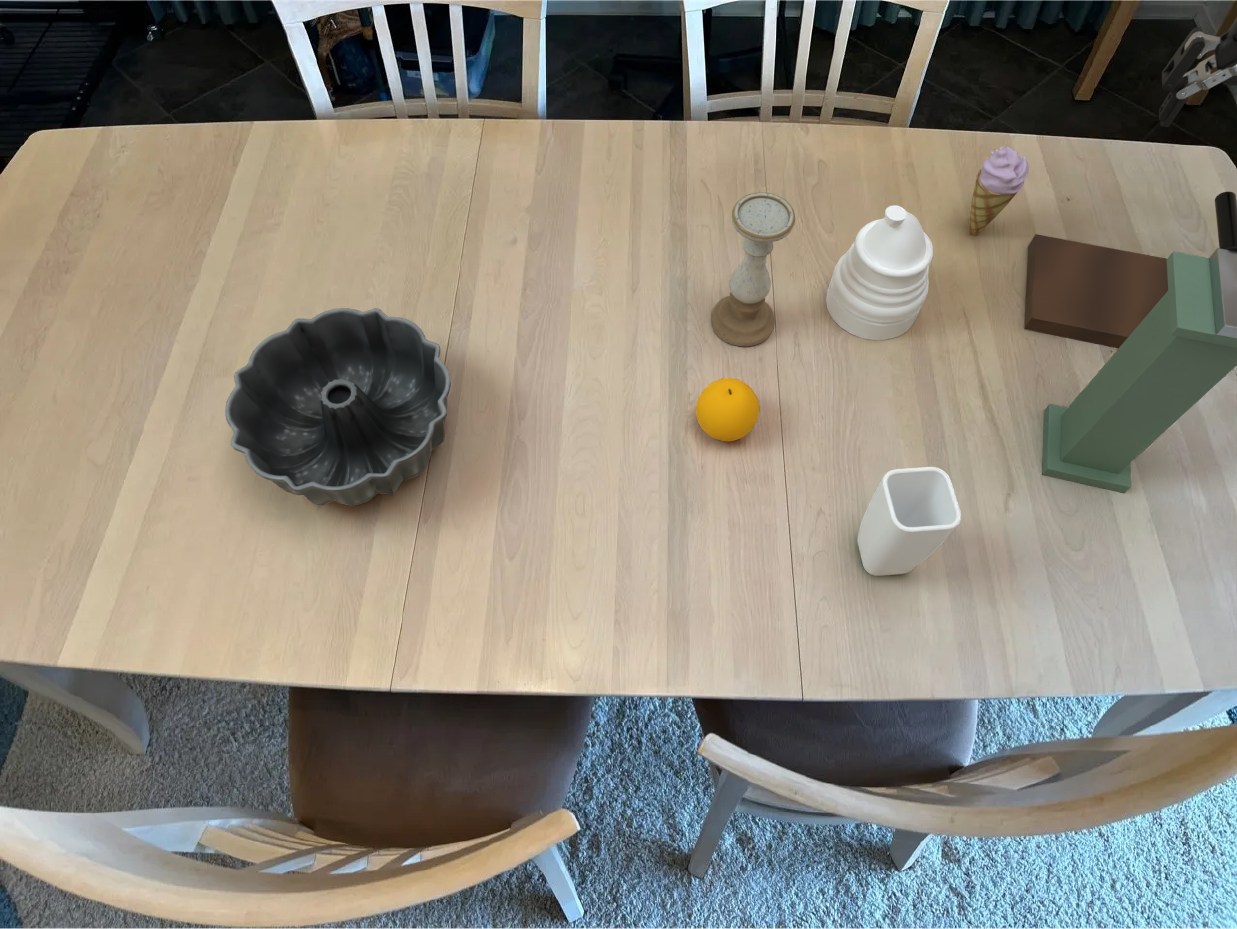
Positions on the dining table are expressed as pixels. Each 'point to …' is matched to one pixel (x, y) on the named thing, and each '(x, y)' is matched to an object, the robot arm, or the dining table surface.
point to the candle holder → (752, 270)
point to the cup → (907, 520)
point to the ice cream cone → (996, 186)
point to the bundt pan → (340, 405)
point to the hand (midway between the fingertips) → (1203, 128)
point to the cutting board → (1090, 290)
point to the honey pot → (882, 277)
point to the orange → (727, 409)
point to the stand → (1142, 384)
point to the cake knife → (1225, 266)
